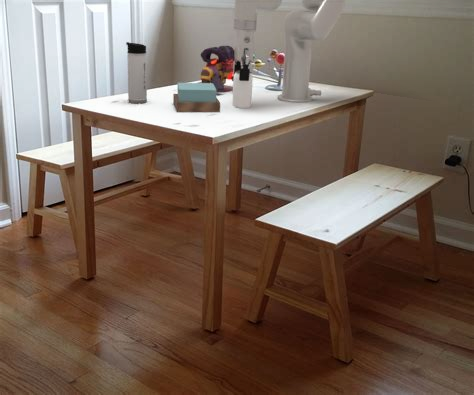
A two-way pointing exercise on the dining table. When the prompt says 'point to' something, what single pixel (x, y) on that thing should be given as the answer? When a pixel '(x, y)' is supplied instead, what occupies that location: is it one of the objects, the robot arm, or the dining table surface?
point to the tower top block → (196, 92)
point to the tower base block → (195, 106)
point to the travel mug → (137, 73)
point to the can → (242, 91)
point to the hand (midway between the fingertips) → (241, 78)
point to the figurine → (218, 67)
